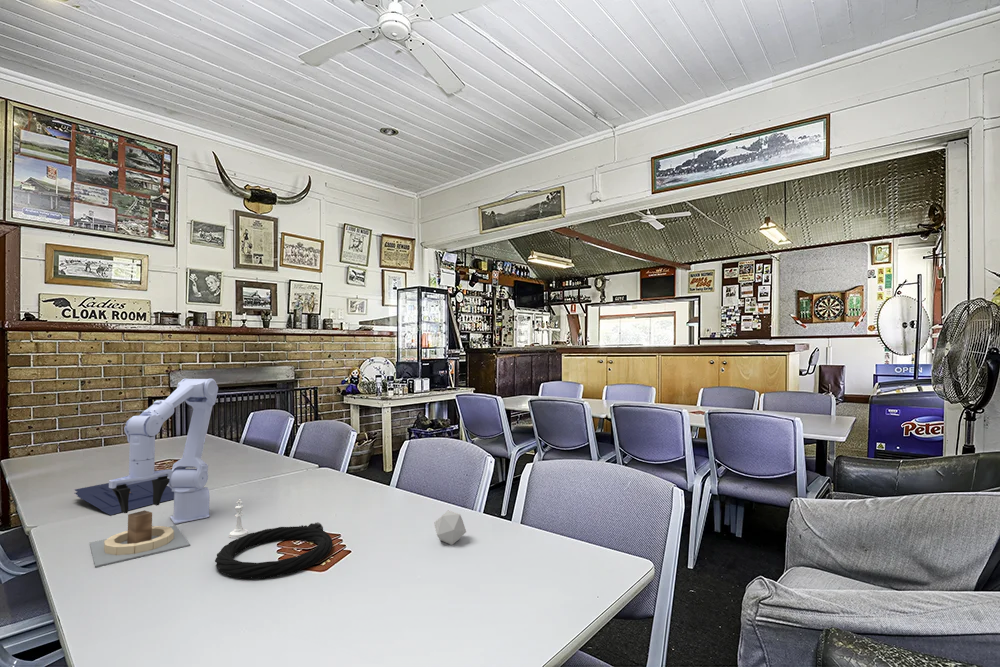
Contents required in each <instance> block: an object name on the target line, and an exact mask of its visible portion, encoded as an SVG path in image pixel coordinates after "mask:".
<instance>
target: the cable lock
mask: <svg viewBox="0 0 1000 667" xmlns="http://www.w3.org/2000/svg"><path fill="white" fill-rule="evenodd" d="M289 540H298V541H300V540H301V541H309V542H312V543H314V544H317V546H316V547H315V548H314V549H311V550H308V551H306V552H303V553H301V554H298V555H296V556H292V557H288V558H284V559H280V560H273V561H272V560H270V561H262V562H252V561H251V562H249V561H241V560H237V559H234V557H235V556H236V555H237V554H240V553H241V552H243V551H245V550H247V549H249V548H252V547H256V546H260V545H261V544H266V543H273V542H276V541H289ZM332 548H333V539H332V537H331V536H330V534H328V533H327V532H326V531H325V530H324V526H323V525H322V523H321V522H314V523H310V524H308V525H303V524H302V525H299V526H297V525H296V526H279V527H273V528H266V529H262V530H260V531H256V532H251V533H248V534H247V535H245V536H243V537H239V538H235V539H234V540H231V541H229V542H228V543H227V544H225V545H224V546H223V547H221V549H220V551H219V552H218V553H217V554H216V557H215V560H214V562H215V563H216V564H215V567H216V568H217V569H218V571H219V572H220V573H222V574H224V575H227V576H228V577H230V578H237V579H239V578H240V579H244V580H254V579H270V578H276V577H280V576H284V575H285V576H286V575H289V574H295V573H297V572H299V571H301V570H304V569H307V568H310V567H312V566H315V565H316V564H318V563H319V562H321V561H322V560H323V559H324V558H326V557H327V556H328V554H330V552H331V550H332Z"/></svg>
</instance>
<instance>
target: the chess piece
mask: <svg viewBox="0 0 1000 667" xmlns="http://www.w3.org/2000/svg"><path fill="white" fill-rule="evenodd" d="M236 504H237V505H236V506H235V508H234V509H235V511H236V514H234V516H235V517H236V523H235V528H234V529H233V530H232V531H230V532H229V534H228V537H229V538H232V539H238V538H241V537H243V536H245V535H247V534H249V530H248V529H246V528H244V527H243V524H242V517H243V516H244V513H242V511H243V508H244V505H243V501H242V500H241V499H240V498H239V499H238V500H237V501H236Z"/></svg>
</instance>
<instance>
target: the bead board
mask: <svg viewBox="0 0 1000 667" xmlns="http://www.w3.org/2000/svg"><path fill="white" fill-rule="evenodd" d="M127 538H128V530H124V531H122V532H118V533H116V534H113V535H111V536H110V537H108V538H105V539H101V540H95V541H91V542H89V546H90V550H91V556H92V560H93V564H94V568H100V567H103V566H108V565H113V564H117V563H121V562H125V561H129V560H135V559H139V558H142V557H147V556H151V555H155V554H161V553H165V552H169V551H173V550H178V549H182V548H186V547H190V546H191V543H190V542H189V541H188V539H187V537H186V536H185V535H184V534H183V532H182V531H181V530H180V528H179V527H178V526H177V525H176V524H174V525H170V526H164V525H156V526H155V525H154V526H153V525H152V540H149V541H144V542H139V543H132V544H127Z"/></svg>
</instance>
